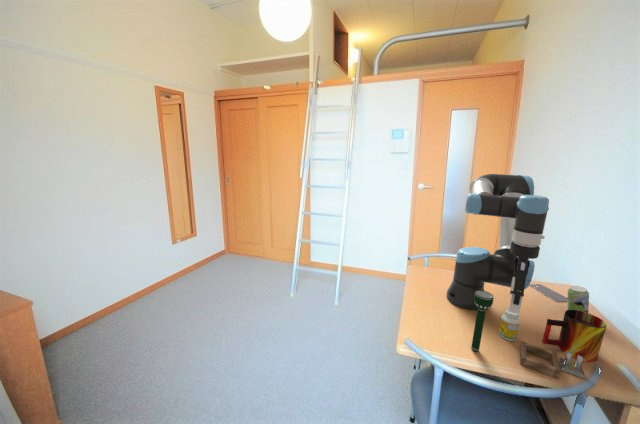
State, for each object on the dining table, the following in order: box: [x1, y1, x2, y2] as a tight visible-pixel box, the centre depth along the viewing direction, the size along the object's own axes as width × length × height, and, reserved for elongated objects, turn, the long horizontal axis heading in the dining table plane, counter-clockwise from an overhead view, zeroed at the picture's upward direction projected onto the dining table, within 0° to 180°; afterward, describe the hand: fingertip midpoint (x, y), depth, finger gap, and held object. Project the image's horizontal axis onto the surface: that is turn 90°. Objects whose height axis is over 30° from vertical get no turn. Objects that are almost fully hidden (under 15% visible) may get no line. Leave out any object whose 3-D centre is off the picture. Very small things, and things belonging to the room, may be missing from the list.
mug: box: [541, 309, 608, 363], centre depth 88 cm, size 10×14×12 cm
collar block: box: [519, 340, 562, 379], centre depth 84 cm, size 9×9×2 cm
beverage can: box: [566, 285, 590, 313], centre depth 107 cm, size 6×7×12 cm
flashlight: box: [470, 290, 494, 353], centre depth 87 cm, size 5×5×20 cm
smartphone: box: [528, 283, 568, 303], centre depth 126 cm, size 7×1×15 cm
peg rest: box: [558, 351, 585, 379], centre depth 81 cm, size 5×5×5 cm
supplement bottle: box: [498, 308, 521, 342], centre depth 95 cm, size 5×5×10 cm
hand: (514, 303), depth 93 cm, fingers open, 13 cm apart
